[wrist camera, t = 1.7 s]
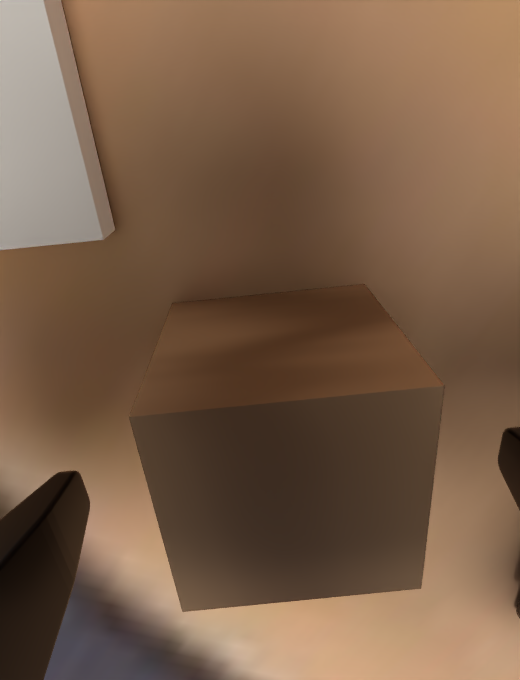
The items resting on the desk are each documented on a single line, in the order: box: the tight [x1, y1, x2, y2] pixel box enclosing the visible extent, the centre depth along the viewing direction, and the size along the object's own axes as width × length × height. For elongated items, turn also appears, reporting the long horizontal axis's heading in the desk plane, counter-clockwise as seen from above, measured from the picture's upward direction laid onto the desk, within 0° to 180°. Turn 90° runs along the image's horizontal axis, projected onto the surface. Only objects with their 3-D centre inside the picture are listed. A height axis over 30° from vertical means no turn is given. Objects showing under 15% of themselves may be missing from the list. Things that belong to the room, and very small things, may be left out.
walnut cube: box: [129, 284, 444, 612], centre depth 10 cm, size 5×5×5 cm
